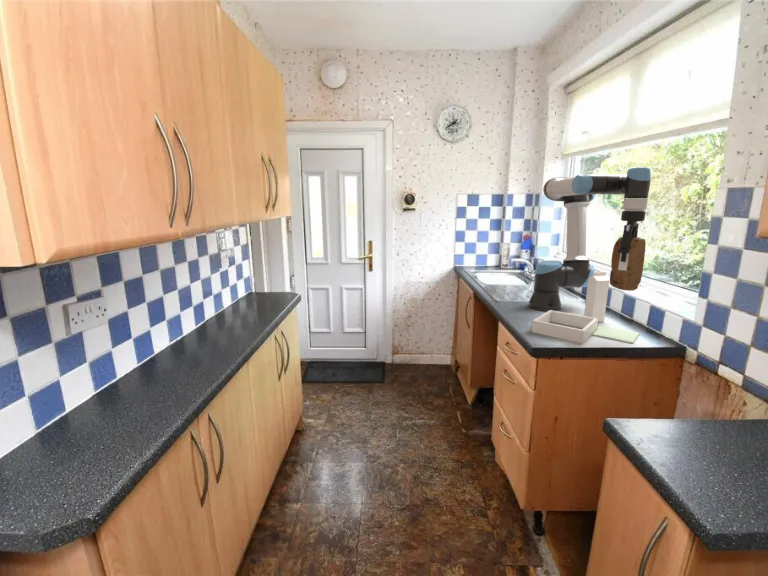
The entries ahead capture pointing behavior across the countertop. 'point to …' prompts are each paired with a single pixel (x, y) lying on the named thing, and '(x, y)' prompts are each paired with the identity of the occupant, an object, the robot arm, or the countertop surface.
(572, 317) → the holder
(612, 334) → the mat
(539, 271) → the robot arm
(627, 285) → the brown rough stone
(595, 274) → the milk
